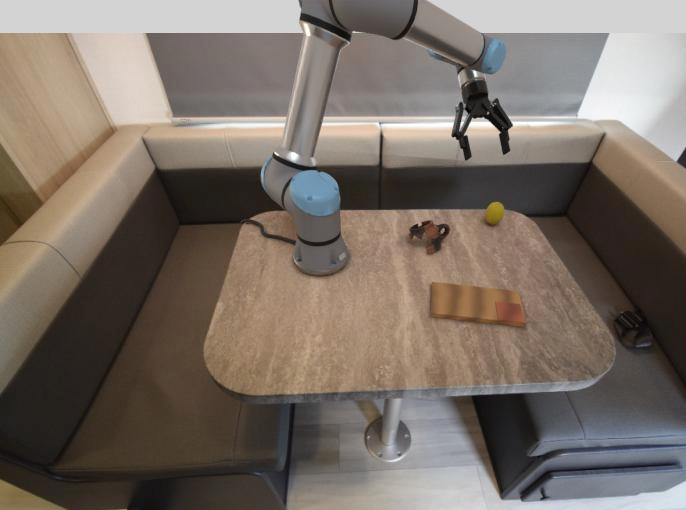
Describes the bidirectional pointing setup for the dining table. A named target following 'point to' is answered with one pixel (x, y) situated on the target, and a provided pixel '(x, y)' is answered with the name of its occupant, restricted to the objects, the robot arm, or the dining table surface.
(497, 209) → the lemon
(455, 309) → the board
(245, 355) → the dining table surface
